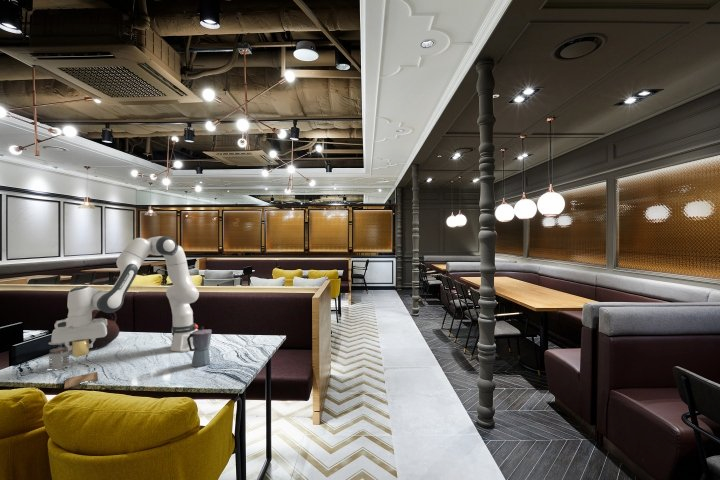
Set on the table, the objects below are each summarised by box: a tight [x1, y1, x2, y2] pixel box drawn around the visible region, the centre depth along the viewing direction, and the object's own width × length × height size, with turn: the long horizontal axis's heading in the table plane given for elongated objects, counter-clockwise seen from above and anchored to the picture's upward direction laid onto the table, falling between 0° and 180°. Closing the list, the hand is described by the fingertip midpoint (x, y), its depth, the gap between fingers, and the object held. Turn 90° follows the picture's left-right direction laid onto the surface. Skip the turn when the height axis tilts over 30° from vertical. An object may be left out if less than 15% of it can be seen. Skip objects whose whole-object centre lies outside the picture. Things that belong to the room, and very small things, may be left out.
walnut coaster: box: [63, 371, 99, 389], centre depth 157 cm, size 12×12×1 cm
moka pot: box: [187, 326, 213, 367], centre depth 174 cm, size 10×15×20 cm, turn 161°
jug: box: [69, 310, 120, 350], centre depth 204 cm, size 25×25×25 cm
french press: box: [47, 320, 72, 370], centre depth 173 cm, size 10×12×25 cm
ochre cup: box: [71, 339, 90, 358], centre depth 156 cm, size 6×6×7 cm
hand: (80, 349), depth 156 cm, fingers closed on ochre cup, 6 cm apart
